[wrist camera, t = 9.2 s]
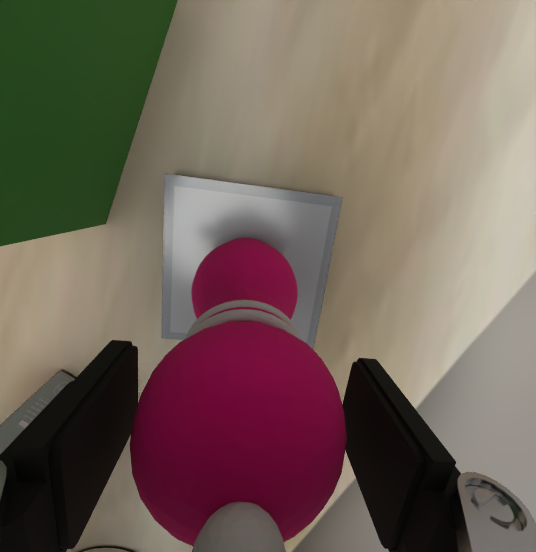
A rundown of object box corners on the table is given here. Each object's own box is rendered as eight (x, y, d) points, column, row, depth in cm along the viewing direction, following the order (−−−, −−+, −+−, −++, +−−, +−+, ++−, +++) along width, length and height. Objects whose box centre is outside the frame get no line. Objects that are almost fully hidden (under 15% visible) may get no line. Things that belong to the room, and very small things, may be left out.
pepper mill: (303, 255, 23) (561, 539, 4) (264, 325, 25) (320, 766, 6) (224, 215, 22) (61, 367, 3) (189, 292, 23) (-71, 728, 4)
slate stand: (307, 336, 29) (313, 350, 26) (169, 325, 27) (160, 339, 25) (333, 196, 25) (343, 197, 22) (173, 175, 23) (163, 173, 21)
